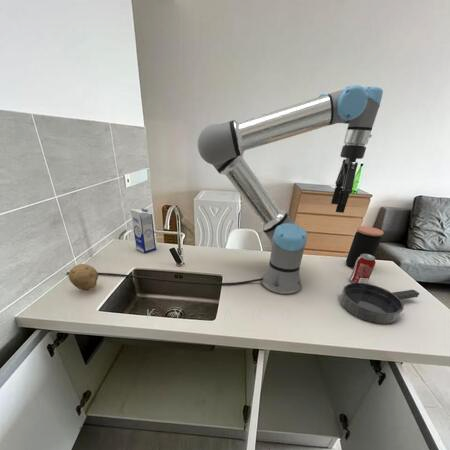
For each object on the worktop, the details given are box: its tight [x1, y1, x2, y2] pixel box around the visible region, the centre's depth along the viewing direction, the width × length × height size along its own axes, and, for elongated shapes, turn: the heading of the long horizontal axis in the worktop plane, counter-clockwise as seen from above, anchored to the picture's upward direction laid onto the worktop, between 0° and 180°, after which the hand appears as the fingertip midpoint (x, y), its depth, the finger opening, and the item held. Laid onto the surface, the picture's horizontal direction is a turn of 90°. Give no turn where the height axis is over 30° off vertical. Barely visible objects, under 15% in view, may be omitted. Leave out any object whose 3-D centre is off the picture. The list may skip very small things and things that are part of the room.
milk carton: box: [130, 208, 157, 254], centre depth 116 cm, size 7×7×20 cm
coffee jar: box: [345, 225, 384, 270], centre depth 112 cm, size 11×11×18 cm
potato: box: [68, 263, 99, 292], centre depth 86 cm, size 9×9×10 cm
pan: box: [339, 282, 405, 325], centre depth 87 cm, size 19×19×4 cm
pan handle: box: [387, 289, 420, 301], centre depth 90 cm, size 12×3×2 cm, turn 106°
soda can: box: [349, 254, 376, 284], centre depth 100 cm, size 7×7×12 cm
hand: (336, 207), depth 94 cm, fingers open, 13 cm apart
